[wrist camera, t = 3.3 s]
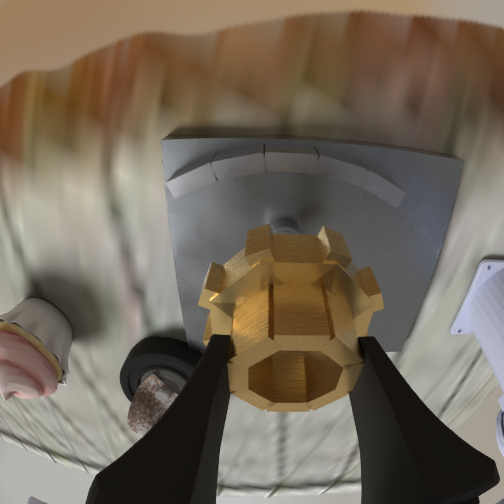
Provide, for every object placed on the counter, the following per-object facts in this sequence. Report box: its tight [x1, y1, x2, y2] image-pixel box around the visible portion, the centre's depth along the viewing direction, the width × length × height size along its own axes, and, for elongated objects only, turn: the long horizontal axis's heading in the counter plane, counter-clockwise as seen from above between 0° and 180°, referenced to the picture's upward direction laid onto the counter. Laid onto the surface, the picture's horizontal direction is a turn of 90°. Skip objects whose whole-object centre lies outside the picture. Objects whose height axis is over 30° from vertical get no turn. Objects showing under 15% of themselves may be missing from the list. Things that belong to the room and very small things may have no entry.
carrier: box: [161, 135, 464, 352], centre depth 20 cm, size 18×17×4 cm
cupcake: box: [0, 298, 73, 400], centre depth 22 cm, size 9×9×10 cm
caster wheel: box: [120, 337, 202, 438], centre depth 27 cm, size 7×11×10 cm
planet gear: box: [198, 224, 384, 412], centre depth 12 cm, size 7×7×4 cm
